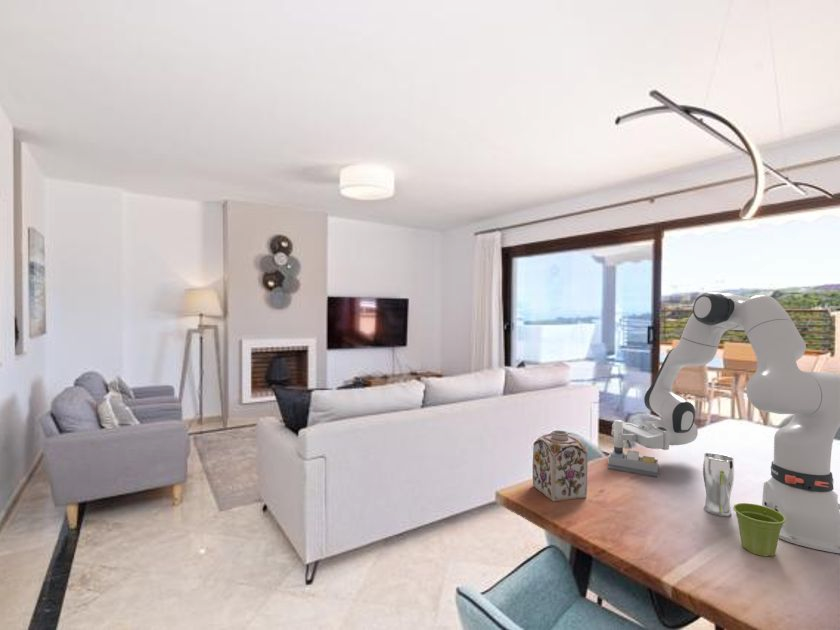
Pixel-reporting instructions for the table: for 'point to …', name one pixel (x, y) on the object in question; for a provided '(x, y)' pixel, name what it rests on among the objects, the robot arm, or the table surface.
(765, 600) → the table surface
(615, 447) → the white rounded cylinder
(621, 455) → the key slate
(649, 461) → the key amber
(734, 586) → the table surface
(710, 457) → the beer glass
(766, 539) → the plant pot
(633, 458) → the key white
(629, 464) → the keypad
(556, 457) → the decorative jar
